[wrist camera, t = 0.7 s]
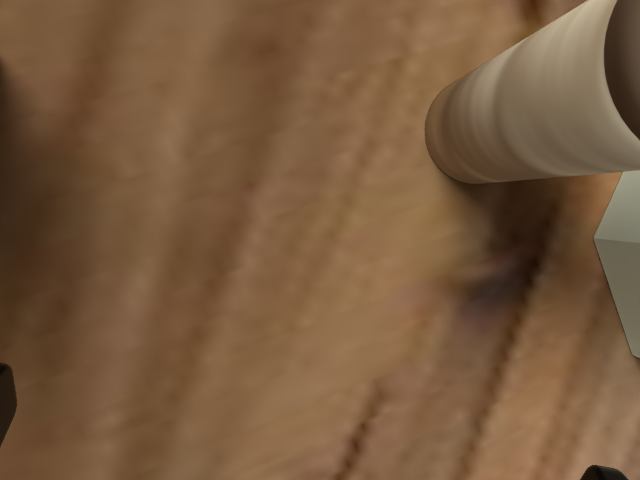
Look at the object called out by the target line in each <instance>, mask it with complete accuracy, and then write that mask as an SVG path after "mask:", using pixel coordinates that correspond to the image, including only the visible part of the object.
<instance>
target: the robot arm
mask: <svg viewBox="0 0 640 480" xmlns="http://www.w3.org/2000/svg"><path fill="white" fill-rule="evenodd" d="M16 407H17V398H16V391H15V384H14V377H13V371H12V368H11V367H10V366H9V365H7V364H4V363H0V446H1V444H2V442H3V440H4V438H5V435H6V433H7V431H8V429H9V426H10V424H11V422H12V420H13V417H14V415H15V412H16ZM580 480H628V479H627V478H626V476H625V475H624V474H623V473H622V472H620V471H619V470H617V469H615V468H610V467H604V466H598V465H592V466H590V467H588V468H587V470H586V471H585V473H584V474H583V476H582V477H581V479H580Z"/></svg>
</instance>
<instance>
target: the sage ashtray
mask: <svg viewBox="0 0 640 480" xmlns="http://www.w3.org/2000/svg"><path fill="white" fill-rule="evenodd" d="M593 239H594V242H595V245H596V248H597V251H598V254H599V257H600V260H601V263H602V266H603V269H604V272H605V275H606V278H607V281H608V284H609V287H610V290H611V293H612V296H613V299H614V302H615V305H616V308H617V311H618V314H619V317H620V320H621V323H622V326H623V329H624V332H625V335H626V338H627V341H628V344H629V347H630V350H631V353H632V355H634V356H636V357H638V358H640V170H638V171H626V172H623V174H622V176H621V178H620V180H619V183H618V185H617V187H616V189H615V191H614V194H613V196H612V198H611V200H610V202H609V205H608V207H607V209H606V211H605V213H604V216H603V218H602V220H601V222H600V224H599V227H598V229H597V231H596V233H595V236H594V238H593Z"/></svg>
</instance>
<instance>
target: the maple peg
mask: <svg viewBox="0 0 640 480" xmlns="http://www.w3.org/2000/svg"><path fill="white" fill-rule="evenodd" d="M425 140H426V145H427V148H428V151H429V153H430V155H431V157H432V159H433V161H434V162H435V163H436V165H437V166H438V167H439V168H440V169H441V170H442V171H443V172H444V173H445V174H447V175H448V176H450V177H451V178H453V179H455V180H458V181H460V182H464V183H469V184H484V183H496V182H508V181H519V180H531V179H543V178H555V177H567V176H579V175H590V174H602V173H614V172H626V171H638V170H640V0H588V1H586V2H585V3H583V4H581V5H580V6H578V7H576V8H575V9H573V10H571V11H570V12H568V13H567V14H565V15H563V16H562V17H560V18H558V19H557V20H555V21H553V22H552V23H550V24H549V25H547V26H545V27H544V28H542V29H540V30H539V31H537V32H535V33H534V34H532V35H530V36H529V37H527V38H526V39H524V40H522V41H521V42H519V43H517V44H516V45H514V46H512V47H511V48H509V49H508V50H506V51H504V52H503V53H501V54H499V55H498V56H496V57H494V58H493V59H491V60H489V61H488V62H486V63H485V64H483V65H481V66H480V67H478V68H476V69H475V70H473V71H471V72H470V73H468V74H466V75H465V76H463V77H462V78H460V79H458V80H457V81H455V82H453V83H452V84H450V85H449V86H447V87H446V88H445V89H443V90H442V91H441V92H440V93H439V94H438V95H437V97H436V98H435V99H434V101H433V102H432V104H431V106H430V108H429V111H428V113H427V117H426V121H425Z"/></svg>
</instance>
